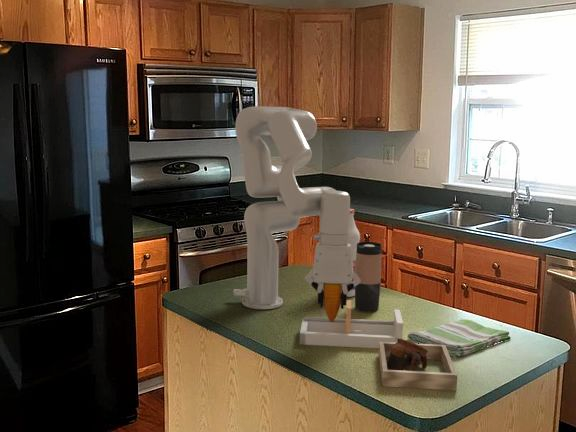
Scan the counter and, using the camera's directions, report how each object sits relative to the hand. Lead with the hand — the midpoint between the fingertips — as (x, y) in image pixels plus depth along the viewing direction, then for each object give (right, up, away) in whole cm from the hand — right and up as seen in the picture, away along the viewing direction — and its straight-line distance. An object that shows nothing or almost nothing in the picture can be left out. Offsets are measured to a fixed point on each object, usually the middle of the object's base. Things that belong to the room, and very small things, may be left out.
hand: (332, 306), depth 168 cm
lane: (+5, -9, +1) cm, 10 cm away
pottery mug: (+16, -13, -19) cm, 28 cm away
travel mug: (+12, -5, +27) cm, 30 cm away
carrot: (0, -5, +1) cm, 5 cm away
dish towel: (+34, -10, +3) cm, 35 cm away
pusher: (+6, -9, +1) cm, 10 cm away
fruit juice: (+7, -2, +42) cm, 43 cm away
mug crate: (+18, -13, -19) cm, 29 cm away
